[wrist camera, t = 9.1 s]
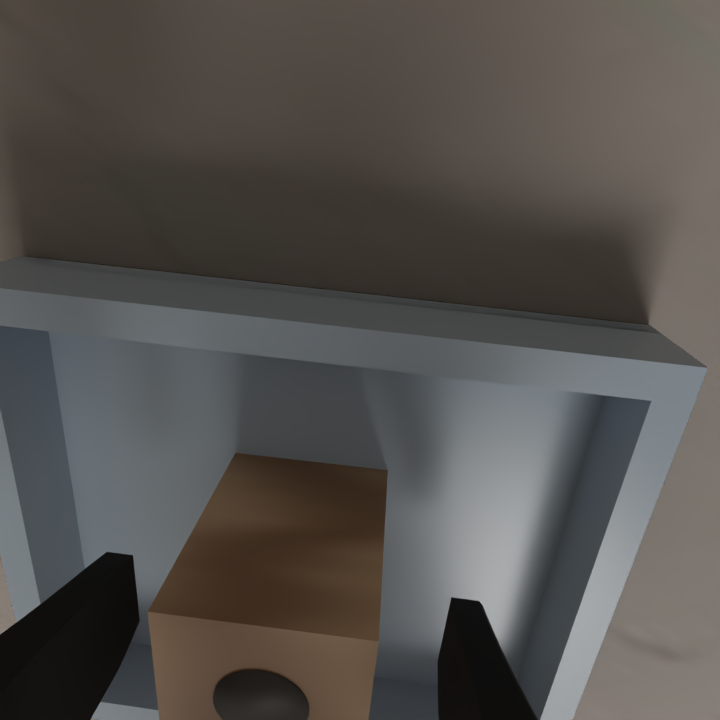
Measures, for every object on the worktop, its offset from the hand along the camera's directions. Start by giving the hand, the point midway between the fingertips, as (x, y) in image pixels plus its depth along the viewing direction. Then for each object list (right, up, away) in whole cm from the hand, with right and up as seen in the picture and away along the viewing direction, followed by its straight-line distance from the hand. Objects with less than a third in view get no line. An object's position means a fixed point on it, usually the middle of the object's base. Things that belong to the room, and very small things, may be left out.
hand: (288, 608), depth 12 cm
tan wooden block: (0, +1, +3) cm, 3 cm away
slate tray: (0, +1, +3) cm, 3 cm away
